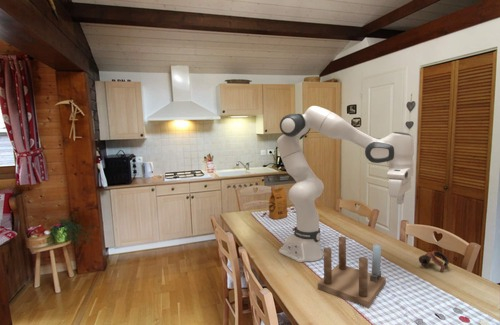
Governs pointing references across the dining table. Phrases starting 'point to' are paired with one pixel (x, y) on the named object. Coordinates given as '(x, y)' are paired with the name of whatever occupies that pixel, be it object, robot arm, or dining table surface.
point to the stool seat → (350, 278)
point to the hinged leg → (376, 260)
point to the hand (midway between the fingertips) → (400, 203)
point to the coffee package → (278, 204)
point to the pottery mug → (434, 259)
